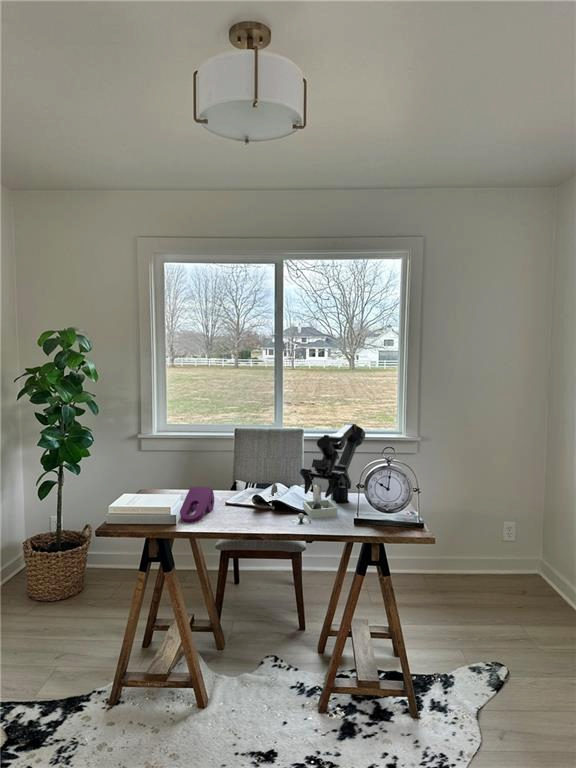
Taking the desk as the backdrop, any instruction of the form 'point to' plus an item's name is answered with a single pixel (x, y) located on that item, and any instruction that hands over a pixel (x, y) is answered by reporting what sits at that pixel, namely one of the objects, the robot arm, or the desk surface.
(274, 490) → the pocket watch
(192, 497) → the mounting bracket
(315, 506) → the strut
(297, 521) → the stud plate
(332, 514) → the bin
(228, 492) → the desk surface
